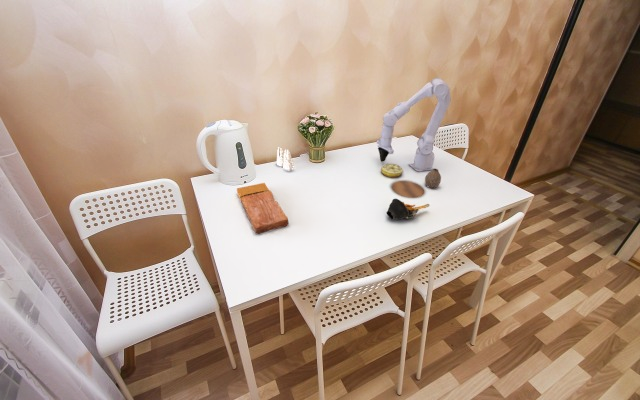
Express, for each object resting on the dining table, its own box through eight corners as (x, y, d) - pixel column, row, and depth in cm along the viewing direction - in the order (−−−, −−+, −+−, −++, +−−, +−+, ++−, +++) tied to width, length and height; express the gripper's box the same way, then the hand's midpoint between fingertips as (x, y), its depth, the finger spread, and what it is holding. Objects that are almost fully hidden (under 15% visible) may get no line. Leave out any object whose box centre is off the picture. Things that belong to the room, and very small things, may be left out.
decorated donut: (405, 173, 148) (407, 166, 146) (394, 180, 141) (396, 174, 139) (388, 166, 154) (389, 160, 152) (377, 173, 147) (378, 166, 145)
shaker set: (295, 171, 146) (294, 151, 140) (288, 173, 144) (287, 153, 138) (282, 162, 154) (281, 143, 148) (275, 164, 152) (274, 144, 145)
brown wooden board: (265, 188, 132) (265, 181, 130) (289, 226, 110) (289, 219, 108) (237, 194, 127) (236, 187, 125) (255, 235, 105) (254, 228, 103)
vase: (436, 191, 134) (441, 174, 129) (421, 186, 137) (426, 170, 132) (440, 185, 139) (445, 168, 134) (425, 180, 142) (430, 164, 137)
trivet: (412, 179, 143) (412, 179, 143) (430, 195, 131) (431, 195, 131) (385, 183, 139) (385, 183, 139) (402, 200, 127) (402, 199, 127)
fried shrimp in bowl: (378, 204, 116) (411, 181, 120) (388, 226, 120) (420, 203, 124) (393, 208, 107) (427, 184, 112) (403, 232, 111) (436, 207, 116)
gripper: (373, 132, 151) (369, 155, 159) (386, 143, 140) (382, 167, 148) (385, 131, 153) (381, 154, 161) (399, 141, 142) (394, 166, 150)
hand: (382, 160), depth 154 cm, fingers closed
